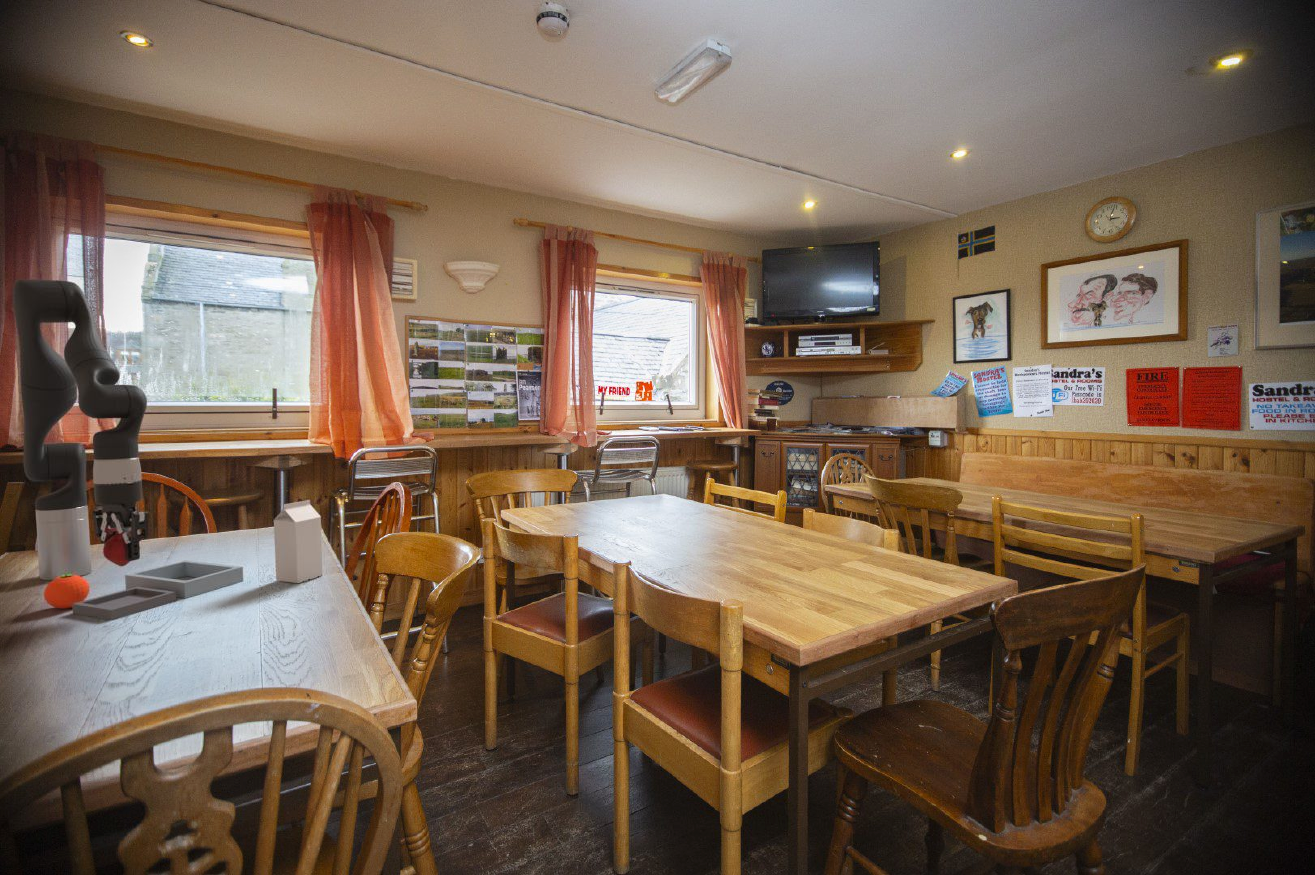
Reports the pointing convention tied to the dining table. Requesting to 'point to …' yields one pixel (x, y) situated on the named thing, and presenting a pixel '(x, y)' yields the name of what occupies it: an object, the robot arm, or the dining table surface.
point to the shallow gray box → (207, 572)
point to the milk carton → (298, 543)
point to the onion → (116, 550)
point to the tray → (123, 603)
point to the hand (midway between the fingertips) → (122, 558)
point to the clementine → (66, 591)
